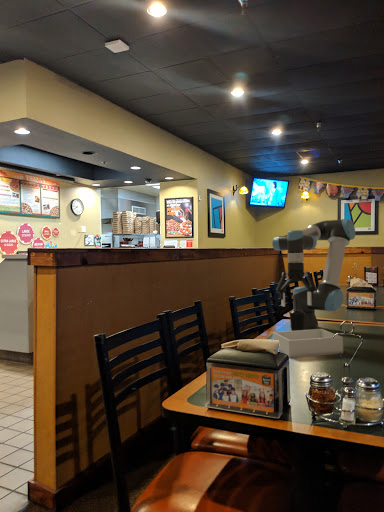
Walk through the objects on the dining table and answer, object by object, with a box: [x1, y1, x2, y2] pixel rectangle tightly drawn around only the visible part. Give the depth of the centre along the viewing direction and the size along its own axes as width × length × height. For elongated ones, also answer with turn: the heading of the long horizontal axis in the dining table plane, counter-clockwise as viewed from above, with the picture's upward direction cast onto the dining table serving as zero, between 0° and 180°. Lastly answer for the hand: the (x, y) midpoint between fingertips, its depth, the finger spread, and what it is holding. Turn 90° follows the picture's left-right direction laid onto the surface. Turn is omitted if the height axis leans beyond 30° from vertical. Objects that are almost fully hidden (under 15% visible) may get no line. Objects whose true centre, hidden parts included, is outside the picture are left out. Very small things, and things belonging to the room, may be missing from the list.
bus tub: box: [272, 328, 344, 358], centre depth 174 cm, size 24×18×7 cm
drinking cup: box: [288, 299, 305, 331], centre depth 195 cm, size 8×8×20 cm
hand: (296, 305), depth 195 cm, fingers open, 13 cm apart
